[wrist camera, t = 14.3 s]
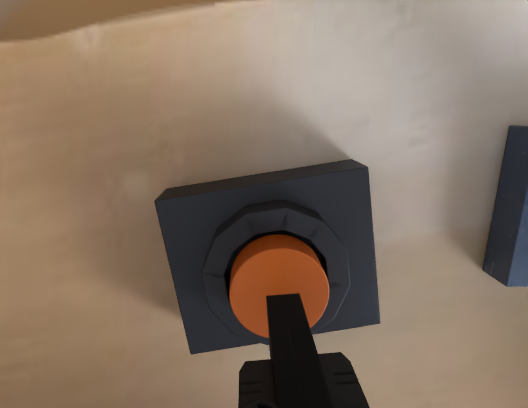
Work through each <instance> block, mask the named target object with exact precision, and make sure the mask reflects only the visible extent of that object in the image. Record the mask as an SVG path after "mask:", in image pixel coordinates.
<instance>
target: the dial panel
mask: <svg viewBox="0 0 528 408" xmlns="http://www.w3.org/2000/svg"><path fill="white" fill-rule="evenodd" d="M483 271H485V272H486V273H487V274H489V275H490V276H492V277H493V278H495V279H496V280H498V281H499V282H501V283H502V284H504V285H505V286H507V287H528V126H510V127H509V132H508V138H507V143H506V148H505V154H504V159H503V164H502V169H501V175H500V180H499V185H498V191H497V196H496V201H495V207H494V212H493V217H492V222H491V228H490V233H489V238H488V244H487V249H486V254H485V260H484V265H483Z"/></svg>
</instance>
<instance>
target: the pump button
mask: <svg viewBox="0 0 528 408" xmlns="http://www.w3.org/2000/svg"><path fill="white" fill-rule="evenodd" d="M293 293H300V296H301V299H302V303H303V306H304V310H305V313H306V316H307V320H308V323H309V326H310V328H311V327H312V326H313V325H314V324H315V323H316V322H317V321H318V320H319V319H320V317H321V316H322V315H323V313H324V311H325V309H326V306H327V304H328V300H329V283H328V279H327V276H326V274H325V272H324V270H323V268H322V266H321V264H320V262H319V259H318V258H317V256H316V254H315V253H314V251H313V250H312V249H311V248H310V247H309V246H308V245H307V244H306V243H304V242H303V241H301V240H299V239H297V238H295V237H292V236H288V235H281V234H275V235H267V236H263V237H261V238H258V239H256V240H254V241H252V242H251V243H249V244H248V245H247V246H245V247H244V248H243V249H242V250H241V252H240V253H239V254H238V256H237V257H236V259H235V261H234V263H233V266H232V270H231V279H230V290H229V298H230V304H231V308H232V310H233V313H234V315H235V316H236V318H237V319H238V321H239V322H240V323H241V324H242V325H243V326H244V327H245V328H247V329H248V330H249V331H251V332H253V333H255V334H257V335H259V336H262V337H266V338H269V332H268V317H267V303H266V296H269V295H281V294H293Z"/></svg>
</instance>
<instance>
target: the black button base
mask: <svg viewBox="0 0 528 408" xmlns="http://www.w3.org/2000/svg"><path fill="white" fill-rule="evenodd" d="M154 202H155V206H156V211H157V215H158V219H159V223H160V227H161V232H162V236H163V240H164V244H165V248H166V252H167V257H168V261H169V265H170V269H171V273H172V278H173V282H174V286H175V290H176V294H177V299H178V303H179V307H180V311H181V315H182V320H183V324H184V328H185V332H186V336H187V341H188V345H189V349H190V353H191V354H197V353H203V352H209V351H215V350H221V349H227V348H233V347H239V346H246V345H252V344H258V343H263V344H266V345H269V338H266V337H262V336H259V335H257V334H255V333H253V332H251V331H249V330H248V329H247V328H245V327H244V326H243V325H242V324H241V323H240V322H239V321H238V319H237V318H236V316H235V315H234V313H233V310H232V308H231V304H230V298H229V290H230V279H231V270H232V266H233V263H234V261H235V259H236V257H237V256H238V254H239V253H240V252H241V250H242V249H243V248H244V247H245V246H247V245H248V244H249V243H251V242H252V241H254V240H256V239H258V238H261V237H263V236H267V235H275V234H281V235H288V236H292V237H295V238H297V239H299V240H301V241H303V242H304V243H306V244H307V245H308V246H309V247H310V248H311V249H312V250H313V251H314V253H315V254H316V256H317V258H318V259H319V262H320V264H321V266H322V268H323V270H324V272H325V274H326V276H327V279H328V283H329V300H328V304H327V306H326V309H325V311H324V313H323V315H322V316H321V317H320V319H319V320H318V321H317V322H316V323H315V324H314V325H313V326H312V327H311V328H310V330H311V333H312V335H313V334H319V333H325V332H331V331H337V330H343V329H349V328H355V327H362V326H368V325H374V324H380V312H379V299H378V286H377V274H376V261H375V248H374V235H373V223H372V210H371V197H370V185H369V172H368V167H367V166H365V165H363V164H361V163H359V162H357V161H354V160H352V159H350V160H343V161H337V162H331V163H325V164H318V165H312V166H306V167H300V168H293V169H287V170H281V171H275V172H268V173H262V174H256V175H249V176H243V177H237V178H231V179H224V180H218V181H212V182H206V183H199V184H193V185H187V186H181V187H174V188H168V189H166V190H165V191H164V192H163V193H162V194H161V195H160V196H159V197H158V198H157V199H156V200H155V201H154Z"/></svg>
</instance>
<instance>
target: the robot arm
mask: <svg viewBox="0 0 528 408" xmlns="http://www.w3.org/2000/svg"><path fill="white" fill-rule="evenodd" d="M266 303H267V317H268V332H269V346H270V357H271V359H268V360H257V361H245V363H244V365H243V366H242V368H241V370H240V371H239V404H238V408H370V407H369V405H368V403H367V400H366V398H365V396H364V393H363V391H362V388H361V386H360V384H359V382H358V379H357V376H356V374H355V372H354V369H353V367H352V365H351V362H350V360H348V359H347V358H346V357H345V356H344V355H343V354H342V353H341V352H337V353H325V354H318V353H317V350H316V346H315V343H314V340H313V336H312V333H311V330H310V326H309V323H308V320H307V316H306V313H305V310H304V306H303V303H302V299H301V296H300V293H293V294H281V295H269V296H266Z"/></svg>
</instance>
